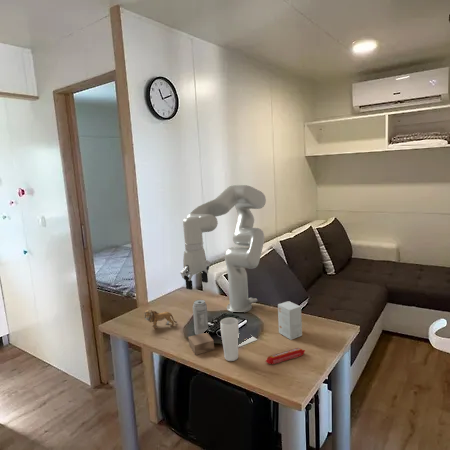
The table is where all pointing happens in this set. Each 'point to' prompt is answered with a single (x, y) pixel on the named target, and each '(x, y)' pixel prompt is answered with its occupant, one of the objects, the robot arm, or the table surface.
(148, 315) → the lion figurine
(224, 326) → the drinking glass
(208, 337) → the walnut brick
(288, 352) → the candy bar
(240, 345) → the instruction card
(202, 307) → the energy drink can
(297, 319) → the small box
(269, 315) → the table surface
